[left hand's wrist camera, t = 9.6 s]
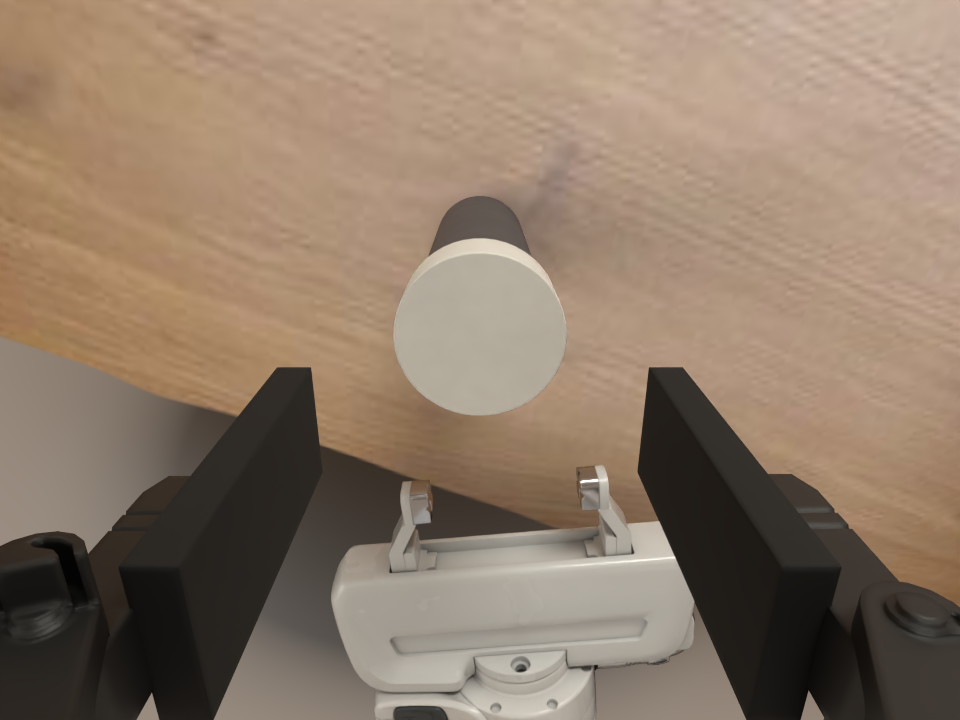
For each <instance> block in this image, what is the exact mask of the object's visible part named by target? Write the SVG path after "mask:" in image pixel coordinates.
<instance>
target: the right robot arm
mask: <svg viewBox="0 0 960 720" xmlns="http://www.w3.org/2000/svg"><path fill="white" fill-rule="evenodd" d="M576 475H577V479H578V480H577V492H578V497H579V499H580V504H581V508H582V510H597V511H598V512H599V513H600V515H599V526H591V527H579V528H566V529H554V530H542V531H529V532H517V533H505V534H492V535H480V536H467V537H455V538H443V539H430V540H419V535H418V530H416V529H415V527H416V524H424V523H431V520H432V511H433V496H432V493H431V492H430V491H431V483H430V480H419V481H407V482H403V483H402V488H401V493H400V501H401V509H402V515H401V517H400V519H399V521H398V523H397V525H396V527H395V529H394V532H393V537H392V542H391V543H380V544H367V545H356V546H353V547H351V548H350V549H349V550H348V552H347V553H346V554H345V556H344V557H343V559H342V560H341V562H340V564H339V566H338V569H337V572H336V575H335V579H334V582H333V587H332V593H331V602H332V607H333V612H334V616H335V620H336V623H337V627H338V630H339V633H340V636H341V639H342V641H343V644H344V647H345V649H346V652H347V654H348V657H349V659H350V661H351V664H352V666H353V668H354V669H355V671H356V672H357V674H358V675H359V677H360V678H361V679H362V680H363V681H364V682H365V683H367V684H368V685H370V686H371V687H373V688H375V705H374V708H375V709H374V710H375V717H376V720H596V689H595V672H594V670H596V669H604V668H617V667H625V666H630V665H635V664H648V665H659V664H663V663H667V662H669V660H670V656H674V655H677V654H679V653H681V652H682V651H684V650H687V649H689V648H690V647H691V646H692V643H693V640H694V620H695V618H694V614H693V608H694V604H695V602H694V599H693V597H692V595H691V592H690V590H689V588H688V586H687V583H686V581H685V579H684V577H683V574H682V572H681V570H680V567H679V565H678V563H677V561H676V558H675V556H674V554H673V551H672V549H671V547H670V545H669V542H668V540H667V538H666V536H665V533H664V531H663V529H662V526H661V524H660V522H659V521H653V522H640V523H628V524H627V522H626V519H625V516H624V513H623V511H622V510H621V509H620V507H619V506H618V505H617V503H616V502H615V501H614V500H613V498H612V497H611V496H610V494H609V483H608V477H607V473H606V471H605V468H604V465H598V466H588V467H577V468H576Z"/></svg>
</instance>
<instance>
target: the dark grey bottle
mask: <svg viewBox="0 0 960 720" xmlns="http://www.w3.org/2000/svg"><path fill="white" fill-rule="evenodd" d="M474 238H486V239H493V240H498V241H502V242H506V243H508V244H511V245H513V246H516V247H517V248H519V249H521V250H523V251H524V252H526V253H527V254H528V255H530V256H531V254H530V251H529V248H528V245H527V243H526V240H525V237H524V234H523V231H522V229H521V226H520V223H519V221H518V219H517V217H516V216H515V214H514V213H513V211H512V210H511V209H510V208H509V207H507V206H506V205H505V204H504V203H502V202H500V201H498V200H496V199H493V198H490V197H483V196H477V197H470V198H467V199H464V200H462V201H460V202H458V203H456V204H455V205H454V206H453V207H451V208H450V209H449V210H448V211H447V213H446V214H445V216H444V217H443V219H442V221H441V223H440V226H439V229H438V231H437V234H436V237H435V240H434V243H433V245H432V248H431V251H430V254H429V256H430V255H432V254H433V253H434V252H436V251H437V250H439V249H441V248H442V247H444V246H447V245H449V244H451V243H454V242H458V241H462V240H467V239H474ZM429 256H428V257H429ZM531 257H532V256H531Z"/></svg>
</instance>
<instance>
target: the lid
mask: <svg viewBox="0 0 960 720" xmlns="http://www.w3.org/2000/svg"><path fill="white" fill-rule="evenodd" d="M393 338H394V347H395V352H396V356H397V359H398V362H399V365H400V367H401V369H402V370H403V372H404V374H405V376H406V377H407V379H408V380H409V382H410V383H411V384H412V385H413V386H414V387H415V389H416V390H417V391H418V392H420V393H421V394H422V395H423V396H424V397H425V398H427V399H428V400H430V401H431V402H433V403H434V404H436V405H438V406H440V407H442V408H444V409H447V410H450V411H452V412H456V413H460V414H464V415H473V416H488V415H496V414H500V413H504V412H508V411H511V410H513V409H516V408H518V407H520V406H522V405H524V404H526V403H527V402H529V401H530V400H532V399H533V398H535V397H536V396H537V395H538V394H539V393H540V392H542V391H543V390H544V389H545V387H546V386H547V385H548V384H549V383H550V382H551V380H552V379H553V377H554V376H555V374H556V373H557V371H558V368H559V366H560V364H561V362H562V359H563V356H564V352H565V347H566V338H567V330H566V320H565V316H564V312H563V309H562V306H561V304H560V301H559V299H558V297H557V294H556V292H555V289H554V287H553V285H552V282H551V281H550V279H549V277H548V275H547V273H546V272H545V271H544V269H543V268H542V267H541V266H540V265H539V263H538V262H537V261H536V260H535V259H534V258H532V257H531V256H530V255H528V254H527V253H526V252H524V251H523V250H521V249H519V248H517V247H516V246H513V245H511V244H508V243H506V242H502V241H498V240H493V239H486V238H474V239H467V240H462V241H458V242H454V243H451V244H449V245H447V246H444V247H442V248H441V249H439V250H437V251H436V252H434V253H433V254H432V255H430V256H429V257H428V258H426V259H425V260H424V261H423V262H422V264H421V265H420V266H419V267H418V268H417V269H416V271H415V272H414V274H413V275H412V277H411V279H410V281H409V282H408V285H407V287H406V289H405V292H404V294H403V296H402V299H401V301H400V304H399V306H398V309H397V312H396V316H395V321H394V330H393Z"/></svg>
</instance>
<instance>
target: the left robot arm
mask: <svg viewBox="0 0 960 720" xmlns="http://www.w3.org/2000/svg"><path fill="white" fill-rule="evenodd" d="M321 474H322V464H321V454H320V445H319V436H318V427H317V418H316V409H315V400H314V391H313V382H312V372H311V367H277V368H276V370H275V371H274V372H273V373H272V375H271V376H270V377H269V378H268V380H267V381H266V382H265V383H264V385H263V386H262V387H261V388H260V390H259V391H258V392H257V394H256V395H255V396H254V397H253V399H252V400H251V401H250V402H249V404H248V405H247V406H246V407H245V409H244V410H243V411H242V412H241V414H240V415H239V416H238V417H237V419H236V420H235V421H234V422H233V424H232V425H231V426H230V427H229V429H228V430H227V431H226V432H225V434H224V435H223V436H222V437H221V439H220V440H219V441H218V442H217V444H216V445H215V446H214V447H213V449H212V450H211V451H210V452H209V454H208V455H207V456H206V458H205V459H204V460H203V461H202V462H201V464H200V465H199V466H198V467H197V469H196V470H195V471H194V473H193V474H192V475H191V476H168V477H167V478H165V479H164V480H162V481H160V482H159V483H157V484H156V485H154V486H152V487H151V488H149V489H148V490H146V491H144V492H143V493H142V494H141V495H140V496H139V498H138V499H137V500H136V501H135V502H134V503H133V504H132V505H131V507H130V508H129V509H128V510H127V511H126V515H123V516H122V517H121V518H120V519H119V520H118V521H117V522H116V523H115V525H114V526H113V527H112V531H108V532H107V534H106V535H105V536H104V537H103V538H102V539H101V540H100V541H99V543H98V544H97V545H96V546H95V547H94V548H93V549H92V550H91V551H90V553H89V554H88V553H87V549H86V546H85V542H84V541H83V540H82V539H81V538H79V537H78V536H77V535H75V534H72V533H65V532H59V531H56V532H47V533H38V534H34V535H30V536H26V537H23V538H20V539H16V540H13V541H10V542H8V543H6V544H4V545H2V546H0V720H136V719H137V718H138V716H139V714H140V712H141V710H142V709H143V707H144V705H145V703H146V702H147V700H148V698H149V696H150V695H151V693H152V694H153V697H154V701H155V705H156V709H157V712H158V716H159V720H214V717H215V715H216V713H217V711H218V708H219V706H220V704H221V702H222V699H223V697H224V695H225V693H226V690H227V688H228V686H229V683H230V681H231V679H232V677H233V674H234V672H235V670H236V667H237V665H238V663H239V661H240V658H241V656H242V654H243V652H244V649H245V647H246V645H247V642H248V640H249V638H250V636H251V633H252V631H253V629H254V626H255V624H256V622H257V620H258V617H259V615H260V613H261V611H262V608H263V606H264V604H265V601H266V599H267V597H268V595H269V592H270V590H271V588H272V586H273V583H274V581H275V579H276V576H277V574H278V572H279V570H280V567H281V565H282V563H283V561H284V558H285V556H286V554H287V551H288V549H289V547H290V545H291V542H292V540H293V538H294V535H295V533H296V531H297V529H298V526H299V524H300V522H301V520H302V517H303V515H304V513H305V511H306V508H307V506H308V504H309V501H310V499H311V497H312V495H313V492H314V490H315V488H316V485H317V483H318V481H319V479H320V476H321ZM638 474H639V476H640V479H641V481H642V483H643V485H644V488H645V490H646V492H647V495H648V497H649V499H650V501H651V504H652V506H653V508H654V511H655V513H656V515H657V517H658V520H659V522H660V524H661V526H662V529H663V531H664V533H665V536H666V538H667V540H668V542H669V545H670V547H671V549H672V551H673V554H674V556H675V558H676V561H677V563H678V565H679V567H680V570H681V572H682V574H683V577H684V579H685V581H686V583H687V586H688V588H689V590H690V592H691V595H692V597H693V599H694V602H695V604H696V606H697V608H698V611H699V613H700V615H701V617H702V620H703V622H704V624H705V627H706V629H707V631H708V633H709V635H710V638H711V640H712V642H713V645H714V647H715V649H716V652H717V654H718V656H719V658H720V661H721V663H722V665H723V667H724V670H725V672H726V674H727V677H728V679H729V681H730V683H731V686H732V688H733V690H734V693H735V695H736V697H737V699H738V702H739V704H740V706H741V708H742V711H743V713H744V715H745V718H746V720H801V716H802V712H803V709H804V705H805V701H806V698H807V694H808V690H809V691H810V693H811V695H812V697H813V698H814V700H815V702H816V704H817V705H818V707H819V709H820V711H821V712H822V714H823V716H824V720H960V607H958V606H957V605H956V604H955V603H953V602H952V601H950V600H948V599H946V598H944V597H942V596H940V595H938V594H937V593H935V592H933V591H931V590H928V589H925V588H922V587H919V586H916V585H913V584H910V583H904V582H899V581H898V580H897V579H896V578H895V576H894V575H893V574H892V573H891V572H890V571H889V570H888V569H887V568H886V566H885V565H884V564H883V563H882V562H881V561H880V560H879V559H878V557H877V556H876V555H875V554H874V553H873V552H872V551H871V550H870V549H869V547H868V546H867V545H866V544H865V543H864V542H863V541H862V540H861V538H860V537H859V536H858V535H857V534H856V533H855V532H854V531H853V530H852V529H849V527H848V524H847V523H846V522H845V521H844V519H843V518H842V517H841V516H840V515H839V514H838V513H835V512H834V508H833V507H832V506H831V505H830V504H829V503H828V502H827V500H826V499H825V498H824V497H823V496H822V495H821V494H820V493H819V492H818V490H816V489H814V488H813V487H811V486H810V485H808V484H806V483H805V482H803V481H802V480H800V479H798V478H797V477H795V476H794V475H792V474H767V472H766V471H765V470H764V469H763V467H762V466H761V465H760V464H759V462H758V461H757V460H756V459H755V457H754V456H753V455H752V454H751V452H750V451H749V450H748V449H747V447H746V446H745V445H744V444H743V442H742V441H741V440H740V439H739V437H738V436H737V435H736V434H735V432H734V431H733V430H732V429H731V427H730V426H729V425H728V424H727V422H726V421H725V420H724V419H723V417H722V416H721V415H720V414H719V412H718V411H717V410H716V409H715V407H714V406H713V405H712V404H711V402H710V401H709V400H708V399H707V397H706V396H705V395H704V394H703V392H702V391H701V390H700V388H699V387H698V386H697V385H696V383H695V382H694V381H693V380H692V378H691V377H690V376H689V375H688V373H687V372H686V371H685V370H684V368H683V367H649V372H648V382H647V391H646V400H645V409H644V418H643V427H642V436H641V445H640V454H639V463H638Z"/></svg>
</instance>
